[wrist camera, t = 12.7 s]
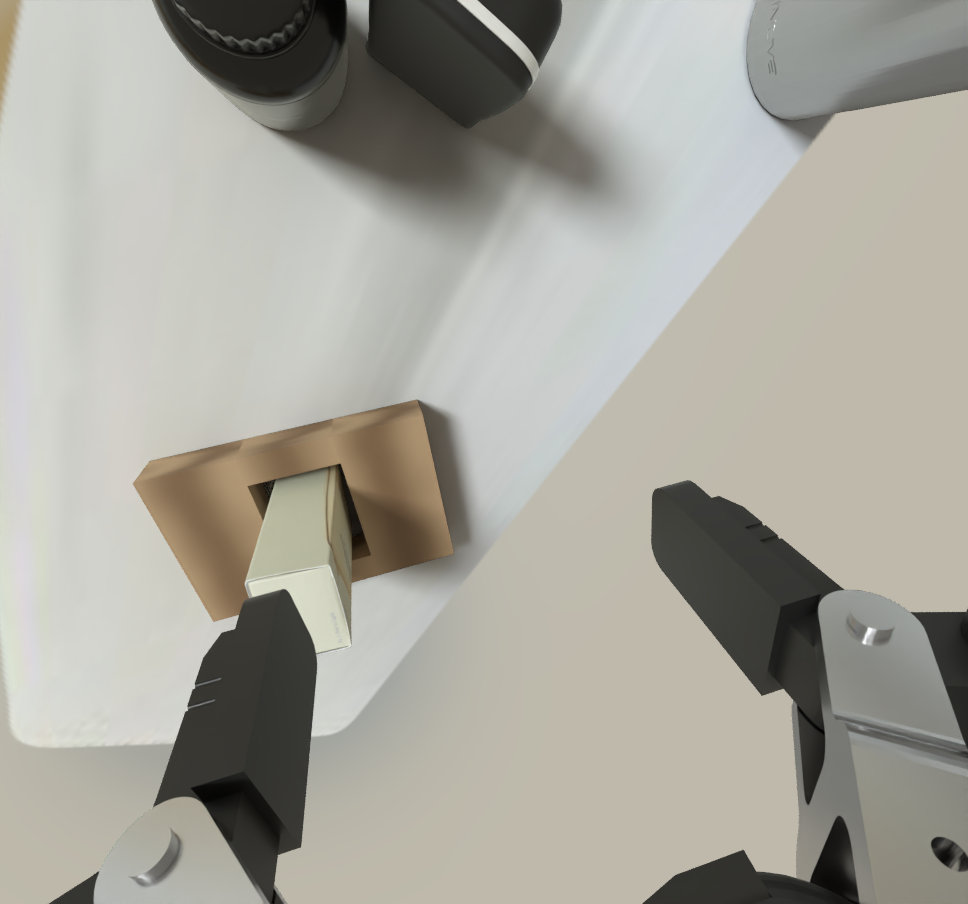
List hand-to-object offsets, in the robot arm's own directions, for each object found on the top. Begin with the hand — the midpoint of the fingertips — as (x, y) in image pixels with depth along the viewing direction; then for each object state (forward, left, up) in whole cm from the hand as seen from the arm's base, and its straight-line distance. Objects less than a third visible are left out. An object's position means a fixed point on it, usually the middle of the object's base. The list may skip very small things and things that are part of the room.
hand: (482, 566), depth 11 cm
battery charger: (-6, -13, -25) cm, 29 cm away
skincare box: (+8, +12, -25) cm, 29 cm away
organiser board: (+8, +12, -25) cm, 29 cm away
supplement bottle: (+2, -14, -25) cm, 29 cm away
